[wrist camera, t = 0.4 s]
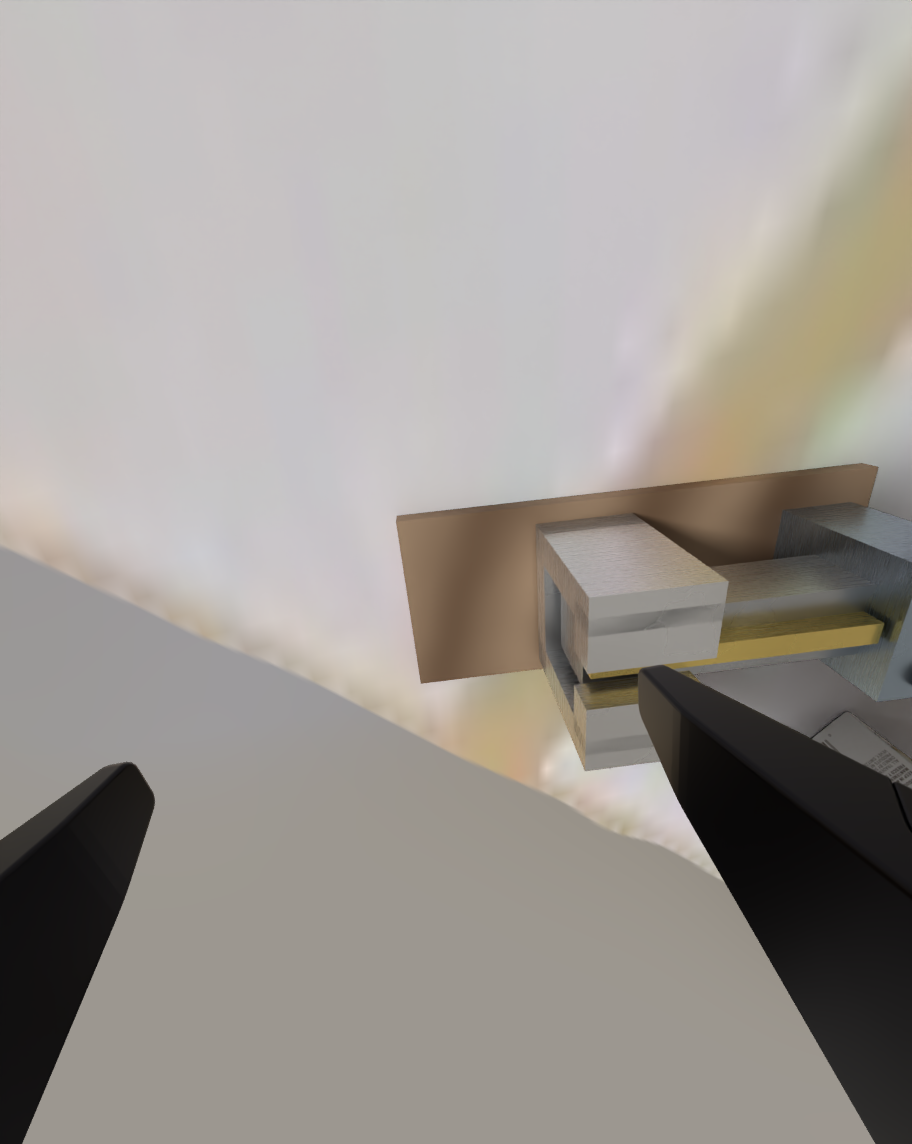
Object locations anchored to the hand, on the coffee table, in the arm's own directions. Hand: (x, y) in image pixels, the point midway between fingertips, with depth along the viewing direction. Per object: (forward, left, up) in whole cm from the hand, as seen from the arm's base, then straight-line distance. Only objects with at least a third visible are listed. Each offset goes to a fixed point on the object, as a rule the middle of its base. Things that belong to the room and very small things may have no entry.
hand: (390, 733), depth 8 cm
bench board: (-10, +4, -13) cm, 16 cm away
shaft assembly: (-12, +4, -12) cm, 17 cm away
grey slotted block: (-7, +4, -13) cm, 15 cm away
